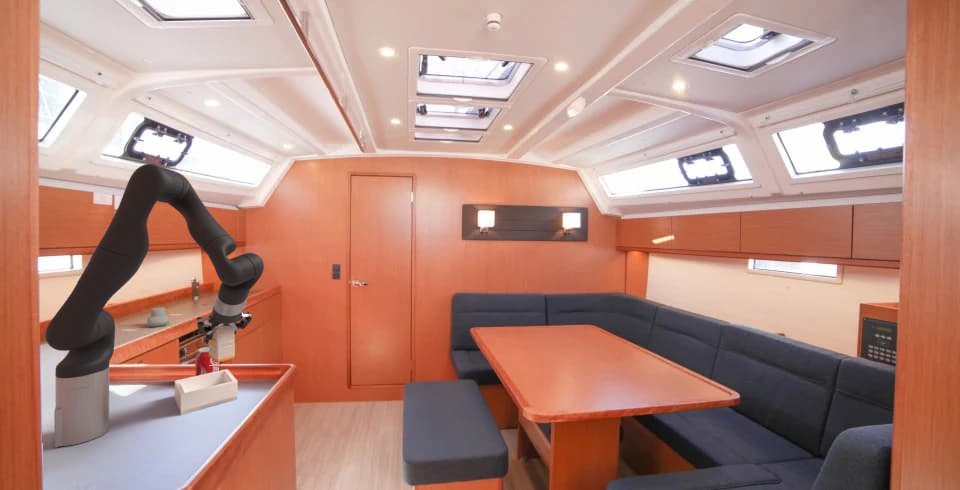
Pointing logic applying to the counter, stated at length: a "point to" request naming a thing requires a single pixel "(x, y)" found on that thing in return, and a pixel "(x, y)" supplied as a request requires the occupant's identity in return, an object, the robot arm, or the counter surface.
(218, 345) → the supplement box
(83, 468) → the counter surface
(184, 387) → the bin
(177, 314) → the counter surface
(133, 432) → the counter surface
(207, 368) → the soda can
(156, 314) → the air freshener
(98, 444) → the counter surface
